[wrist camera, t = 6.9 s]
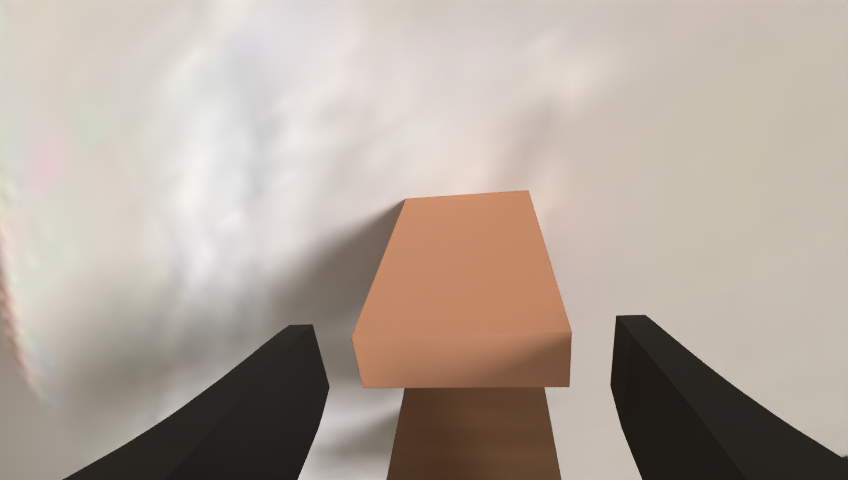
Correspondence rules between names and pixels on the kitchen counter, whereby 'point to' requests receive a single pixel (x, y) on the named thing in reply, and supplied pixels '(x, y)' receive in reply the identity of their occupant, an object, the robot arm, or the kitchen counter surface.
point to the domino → (474, 435)
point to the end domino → (464, 299)
